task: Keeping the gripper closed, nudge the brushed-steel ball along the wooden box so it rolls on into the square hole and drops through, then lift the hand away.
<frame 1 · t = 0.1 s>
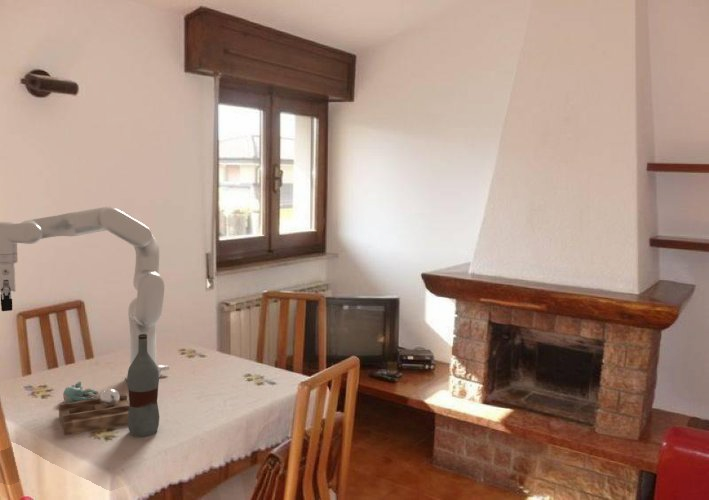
hand: (6, 308, 203), 31 cm above the table, tool pointing down, fingers open, 9 cm apart
stuffed animal: (81, 400, 205), on the table
steel ball: (109, 397, 190), point 6 cm above the table, touching wooden box
wooden box: (96, 419, 188), on the table
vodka: (143, 432, 181), on the table
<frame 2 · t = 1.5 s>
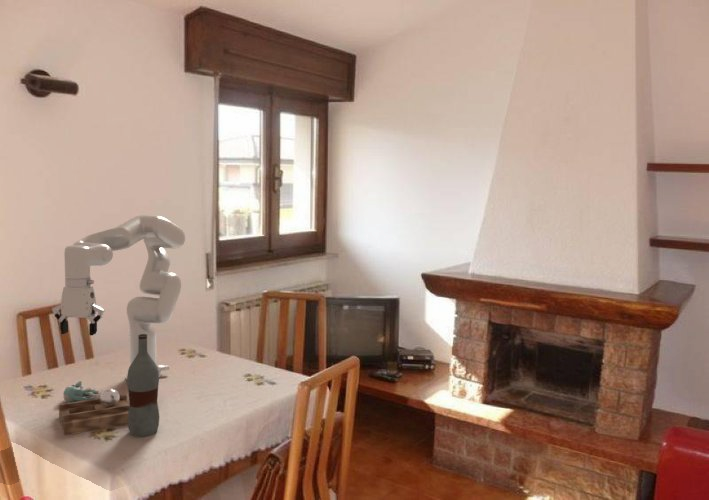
hand: (78, 333, 197), 25 cm above the table, tool pointing down, fingers open, 9 cm apart
nothing on the table moved.
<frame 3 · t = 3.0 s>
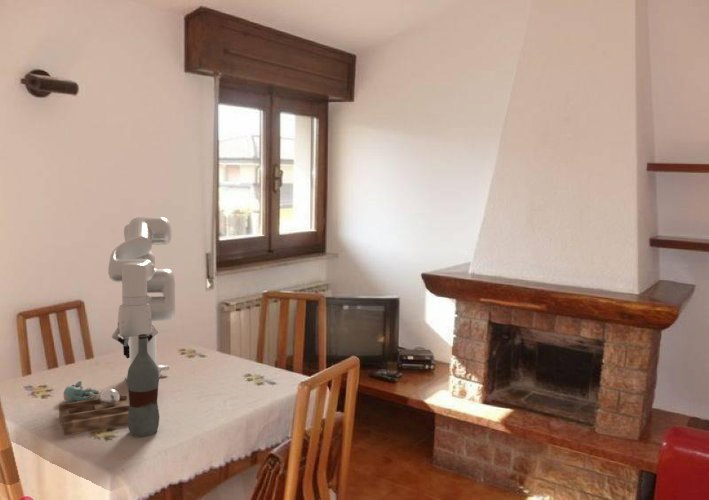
hand: (135, 355, 193), 19 cm above the table, tool pointing down, fingers open, 4 cm apart
nothing on the table moved.
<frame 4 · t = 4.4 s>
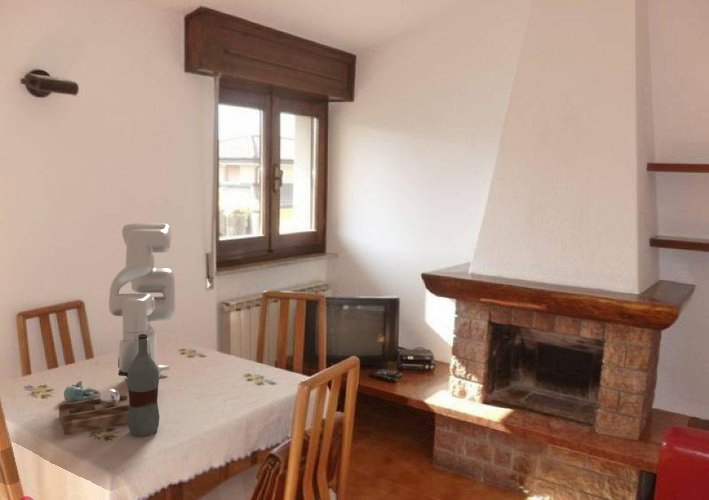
hand: (135, 391, 193), 8 cm above the table, tool pointing down, fingers closed
nothing on the table moved.
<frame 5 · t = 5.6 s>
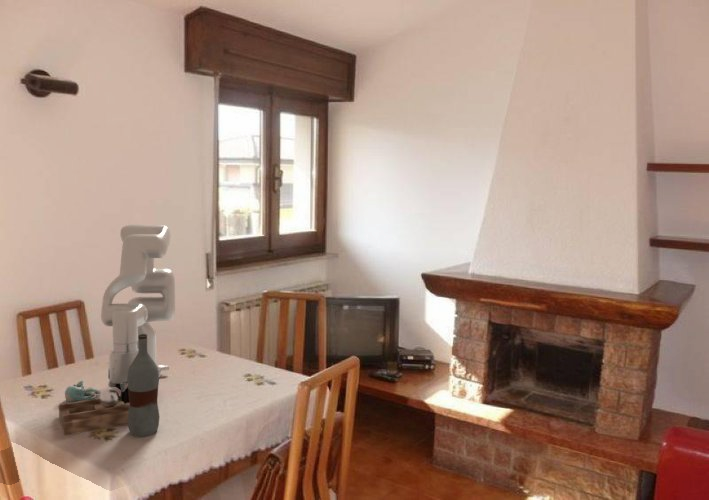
hand: (126, 402, 192), 4 cm above the table, tool pointing down, fingers closed
steel ball: (109, 398, 190), point 6 cm above the table, touching gripper, wooden box
everything else where it was.
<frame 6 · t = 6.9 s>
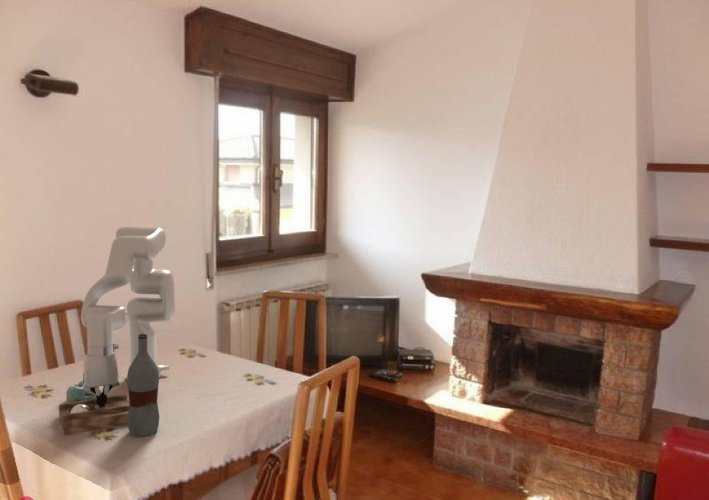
hand: (101, 406, 189), 4 cm above the table, tool pointing down, fingers closed
steel ball: (80, 413, 185), point 3 cm above the table, tilted 168°
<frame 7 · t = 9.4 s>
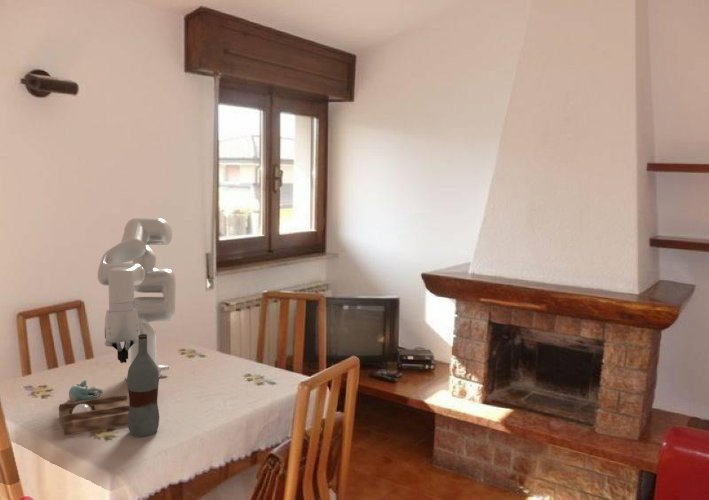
hand: (123, 361, 191), 18 cm above the table, tool pointing down, fingers closed
steel ball: (82, 413, 185), point 3 cm above the table, tilted 161°
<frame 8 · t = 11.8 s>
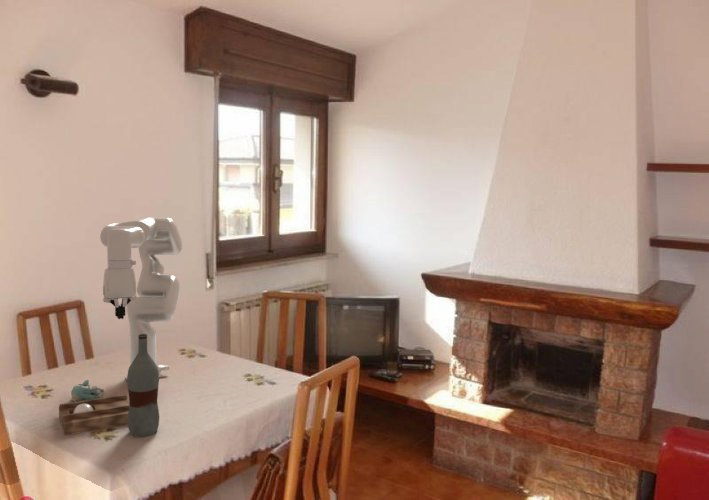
hand: (120, 318, 202), 29 cm above the table, tool pointing down, fingers closed
steel ball: (83, 413, 186), point 3 cm above the table, tilted 154°
at the end: steel ball 0.5 cm from the target spot on the wooden box, point 3.0 cm above the wooden box's base; steel ball moved 8.6 cm from its start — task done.
